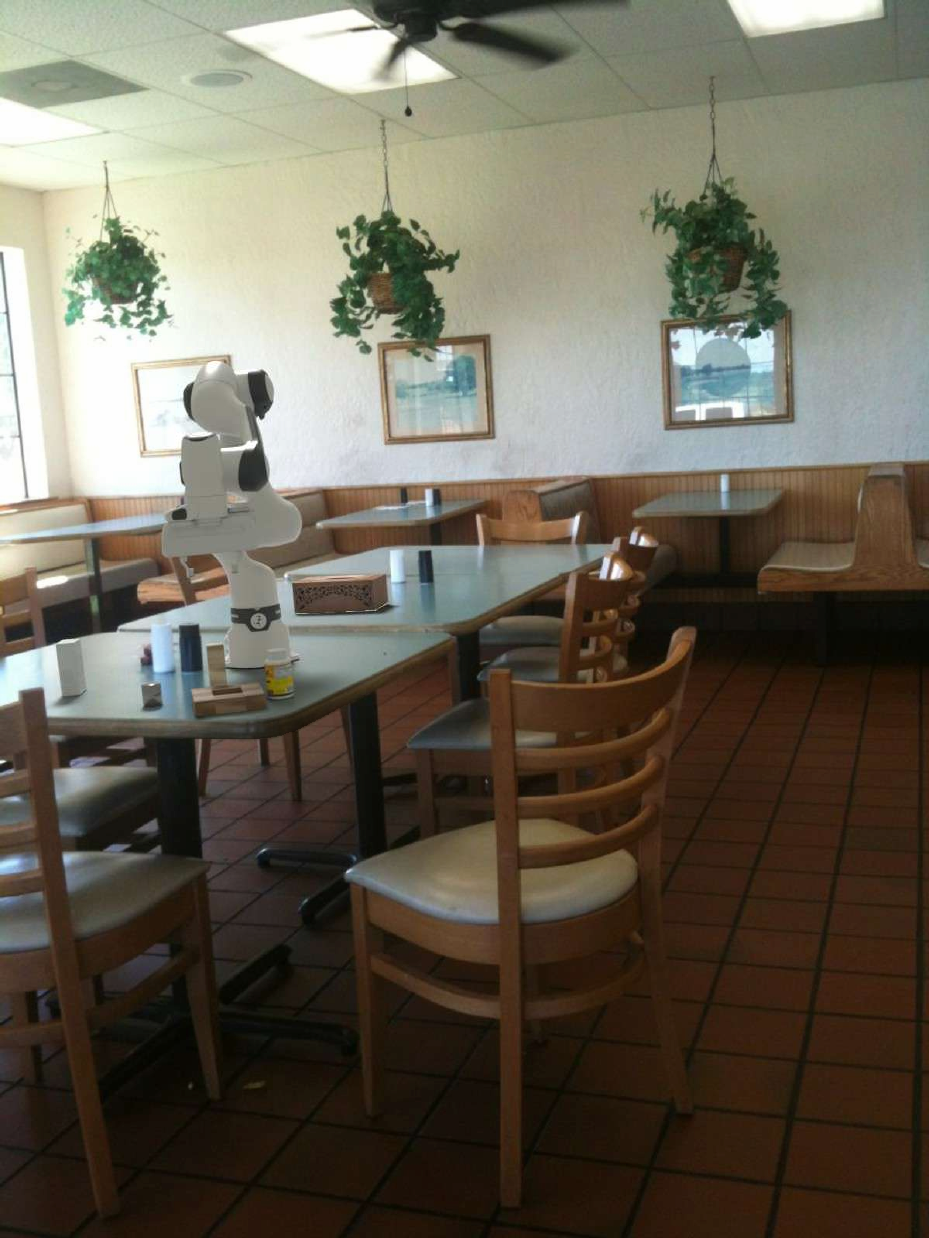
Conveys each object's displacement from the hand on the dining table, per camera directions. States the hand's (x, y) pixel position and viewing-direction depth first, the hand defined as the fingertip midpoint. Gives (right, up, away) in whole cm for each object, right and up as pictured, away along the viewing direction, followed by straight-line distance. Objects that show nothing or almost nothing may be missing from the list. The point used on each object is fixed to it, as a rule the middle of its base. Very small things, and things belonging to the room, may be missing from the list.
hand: (213, 575), depth 267 cm
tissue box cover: (+15, -7, +123) cm, 124 cm away
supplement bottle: (+15, -26, -4) cm, 30 cm away
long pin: (+1, -26, +4) cm, 26 cm away
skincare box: (-35, -26, +16) cm, 46 cm away
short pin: (-12, -27, -3) cm, 30 cm away
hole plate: (+5, -27, -9) cm, 29 cm away
